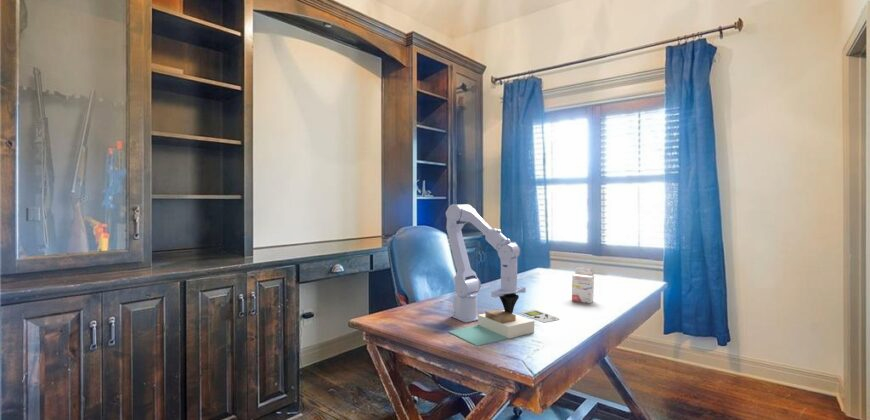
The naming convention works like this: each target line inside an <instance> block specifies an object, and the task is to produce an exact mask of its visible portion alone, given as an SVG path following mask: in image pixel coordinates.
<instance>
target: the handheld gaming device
mask: <svg viewBox="0 0 870 420" xmlns="http://www.w3.org/2000/svg"><path fill="white" fill-rule="evenodd" d="M518 314H520V315H521V316H525V317H527V318H530V319H532V320H534V321H535V320H536V321H538V322H540V323H551V322H554V321H559V320H560V318H559V317H557V316H554V315H552V314H548V313H545V312H543V311H540V310H538V309H528V310H523V311H519V312H518Z"/></svg>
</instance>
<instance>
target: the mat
mask: <svg viewBox="0 0 870 420" xmlns="http://www.w3.org/2000/svg"><path fill="white" fill-rule="evenodd" d="M448 333H449V334H452V335H453V336H456V337H458V338H460V339H462V340H463V341H466V342H468V343H470V344H472V345H474V346H476V347H479V346H480V347H481V346H484V345H488V344H492V343H496V342H501V341H504V340H508V337H505V336H503V335H501V334H498V333H496V332H494V331H491V330H489V329H486V328H484V327H482V326H479V325H478V324H476V325H471V326H467V327H462V328H458V329H453V330H448Z"/></svg>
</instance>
